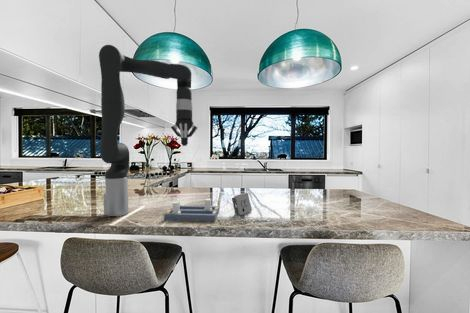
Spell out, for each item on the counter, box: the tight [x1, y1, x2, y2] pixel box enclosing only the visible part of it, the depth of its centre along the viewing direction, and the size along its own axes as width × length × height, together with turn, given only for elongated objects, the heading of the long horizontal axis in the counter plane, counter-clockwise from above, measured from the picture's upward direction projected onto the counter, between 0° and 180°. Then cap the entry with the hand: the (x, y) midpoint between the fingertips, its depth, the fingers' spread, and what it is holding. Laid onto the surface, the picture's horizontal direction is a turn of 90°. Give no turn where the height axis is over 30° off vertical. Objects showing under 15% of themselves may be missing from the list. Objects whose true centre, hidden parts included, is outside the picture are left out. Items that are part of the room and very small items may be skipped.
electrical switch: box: [231, 192, 253, 216], centre depth 109 cm, size 9×5×9 cm, turn 141°
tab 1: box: [172, 201, 181, 213], centre depth 102 cm, size 3×3×6 cm
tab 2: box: [204, 198, 212, 210], centre depth 107 cm, size 3×3×6 cm
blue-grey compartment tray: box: [163, 205, 220, 222], centre depth 105 cm, size 22×14×3 cm, turn 86°
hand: (184, 145), depth 111 cm, fingers closed
